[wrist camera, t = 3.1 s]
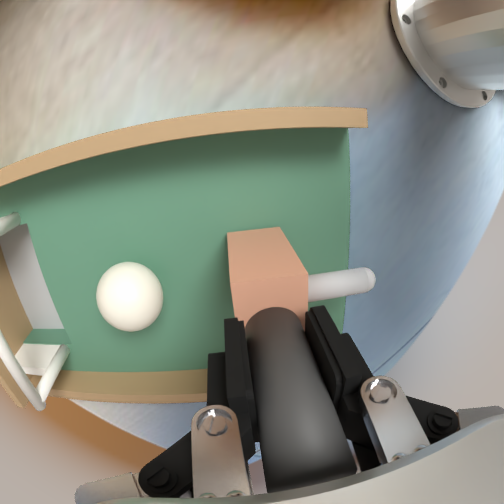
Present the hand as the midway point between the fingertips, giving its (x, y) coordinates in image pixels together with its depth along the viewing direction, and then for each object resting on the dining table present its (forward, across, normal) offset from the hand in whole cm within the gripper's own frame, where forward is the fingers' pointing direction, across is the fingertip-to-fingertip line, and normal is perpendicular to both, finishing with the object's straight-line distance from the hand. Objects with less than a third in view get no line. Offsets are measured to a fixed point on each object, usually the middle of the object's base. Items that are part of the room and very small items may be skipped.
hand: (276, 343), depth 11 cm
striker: (+7, -2, 0) cm, 7 cm away
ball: (+5, +8, 0) cm, 9 cm away
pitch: (+10, +8, 0) cm, 13 cm away
